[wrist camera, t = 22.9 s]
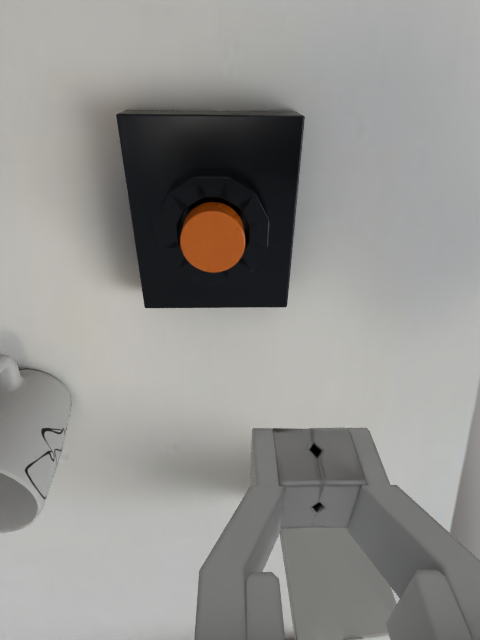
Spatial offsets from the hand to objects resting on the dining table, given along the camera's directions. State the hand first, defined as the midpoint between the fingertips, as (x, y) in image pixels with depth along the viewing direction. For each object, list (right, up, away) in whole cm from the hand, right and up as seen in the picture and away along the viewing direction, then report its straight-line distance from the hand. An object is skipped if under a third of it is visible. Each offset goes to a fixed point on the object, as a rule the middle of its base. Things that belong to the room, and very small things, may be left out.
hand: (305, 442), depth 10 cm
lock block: (-3, +10, +15) cm, 19 cm away
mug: (-20, -2, +23) cm, 30 cm away
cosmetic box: (+6, -14, +32) cm, 35 cm away
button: (-3, +8, +12) cm, 15 cm away
